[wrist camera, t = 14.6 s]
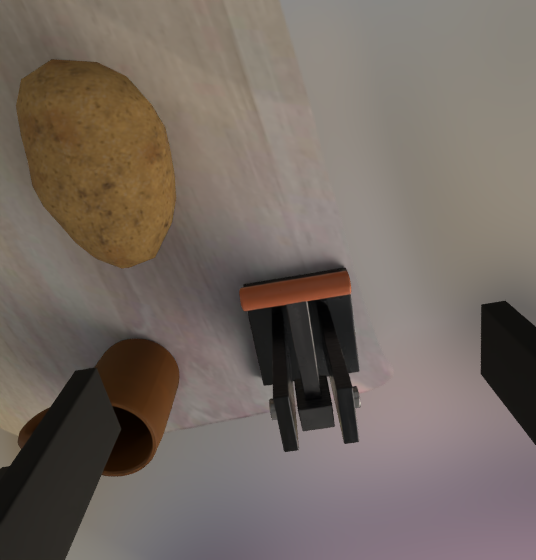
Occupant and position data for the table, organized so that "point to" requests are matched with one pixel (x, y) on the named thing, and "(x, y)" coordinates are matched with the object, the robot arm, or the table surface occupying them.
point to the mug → (132, 401)
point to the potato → (98, 159)
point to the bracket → (329, 355)
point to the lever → (303, 336)
